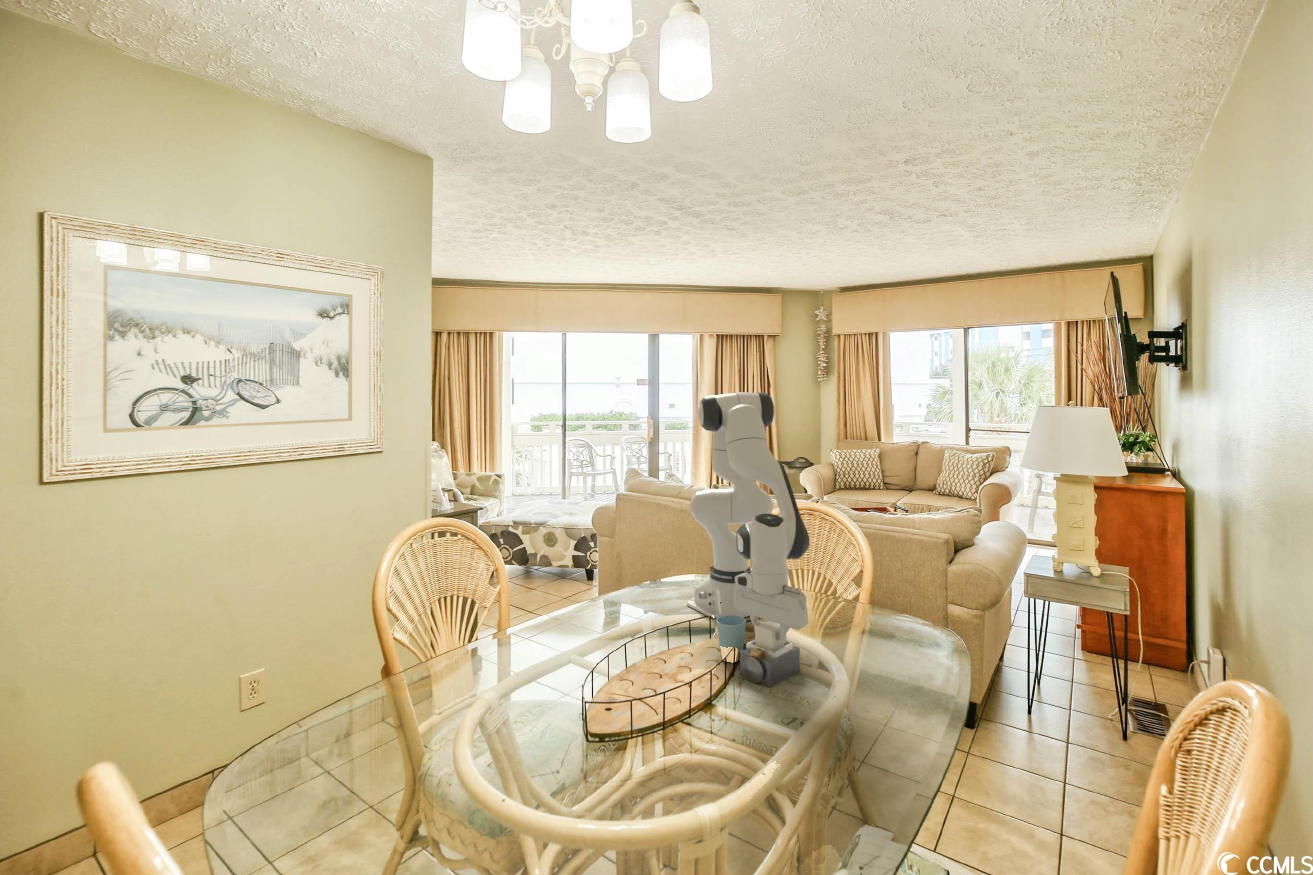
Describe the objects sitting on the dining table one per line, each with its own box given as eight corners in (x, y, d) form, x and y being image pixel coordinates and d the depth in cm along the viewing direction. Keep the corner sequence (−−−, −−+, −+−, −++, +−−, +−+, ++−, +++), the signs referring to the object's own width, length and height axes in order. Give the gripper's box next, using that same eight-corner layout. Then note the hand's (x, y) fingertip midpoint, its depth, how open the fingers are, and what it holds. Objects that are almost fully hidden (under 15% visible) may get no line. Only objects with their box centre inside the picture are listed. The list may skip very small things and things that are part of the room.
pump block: (755, 649, 152) (755, 625, 151) (771, 641, 156) (771, 618, 156) (771, 655, 148) (771, 631, 148) (787, 647, 152) (787, 624, 152)
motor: (737, 676, 151) (737, 646, 150) (772, 658, 160) (772, 630, 159) (767, 688, 144) (767, 657, 143) (801, 669, 153) (801, 640, 153)
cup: (736, 668, 155) (736, 627, 154) (711, 660, 160) (710, 621, 159) (751, 657, 161) (751, 618, 160) (726, 650, 166) (726, 612, 165)
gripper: (813, 587, 145) (813, 645, 146) (745, 570, 160) (746, 622, 161) (797, 594, 140) (798, 653, 142) (729, 575, 156) (730, 628, 157)
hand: (769, 636), depth 151 cm, fingers open, 5 cm apart
